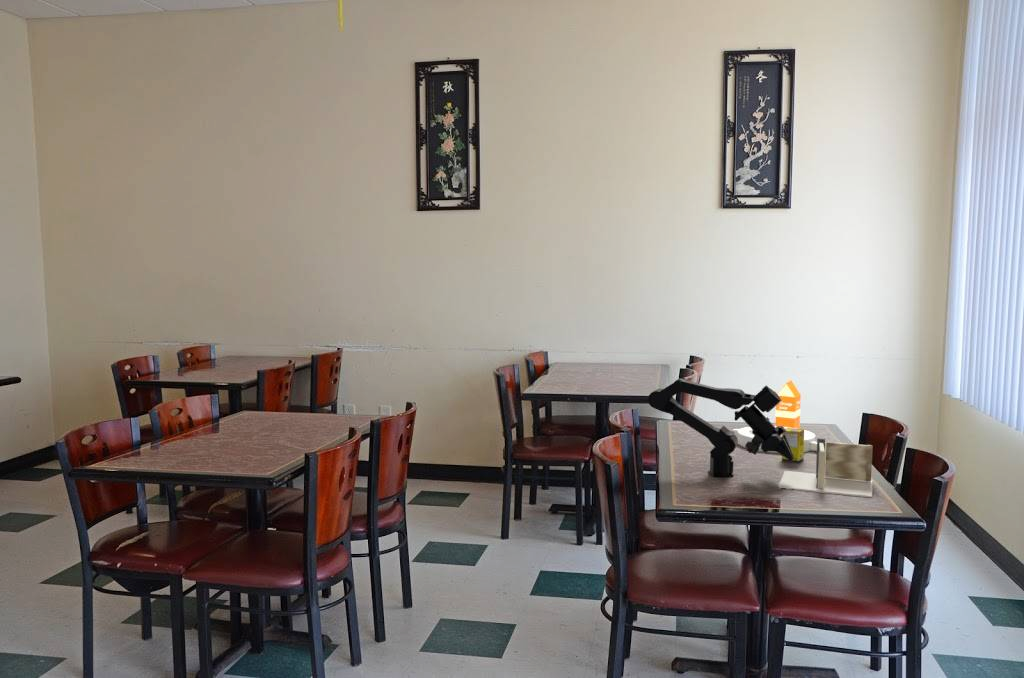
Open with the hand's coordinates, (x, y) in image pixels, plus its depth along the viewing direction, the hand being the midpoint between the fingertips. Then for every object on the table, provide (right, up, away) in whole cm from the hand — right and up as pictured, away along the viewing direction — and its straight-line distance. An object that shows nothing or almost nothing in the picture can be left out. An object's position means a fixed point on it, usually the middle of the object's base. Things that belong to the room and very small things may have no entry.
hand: (792, 459), depth 272 cm
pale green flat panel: (+7, -7, -4) cm, 11 cm away
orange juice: (+24, 0, +81) cm, 85 cm away
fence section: (+16, -7, +1) cm, 18 cm away
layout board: (+10, -8, -2) cm, 13 cm away
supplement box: (+9, -5, +29) cm, 31 cm away
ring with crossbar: (+11, -3, +54) cm, 56 cm away
